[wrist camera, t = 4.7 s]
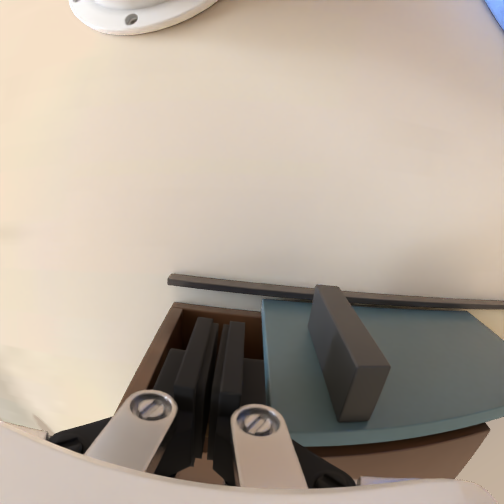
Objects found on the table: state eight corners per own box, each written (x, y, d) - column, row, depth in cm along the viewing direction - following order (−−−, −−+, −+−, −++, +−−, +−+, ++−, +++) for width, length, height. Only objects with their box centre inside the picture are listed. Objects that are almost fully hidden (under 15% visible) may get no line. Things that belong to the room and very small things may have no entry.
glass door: (267, 259, 18) (284, 372, 8) (475, 280, 19) (576, 348, 8) (260, 309, 19) (268, 446, 9) (463, 320, 20) (550, 399, 9)
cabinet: (171, 273, 19) (88, 391, 8) (514, 301, 20) (601, 362, 9) (172, 417, 23) (140, 537, 11) (464, 413, 23) (516, 489, 12)
